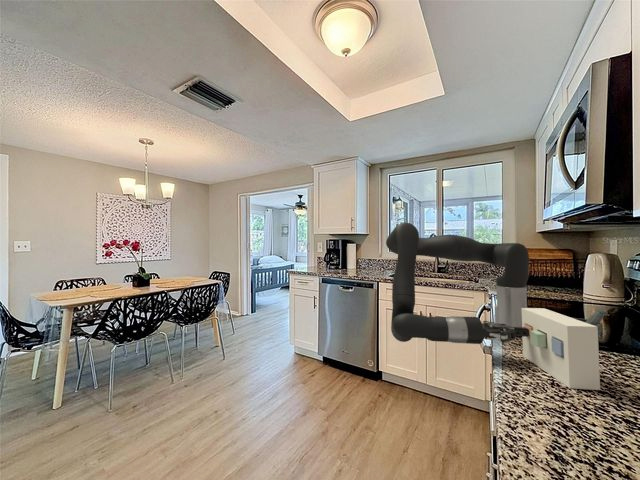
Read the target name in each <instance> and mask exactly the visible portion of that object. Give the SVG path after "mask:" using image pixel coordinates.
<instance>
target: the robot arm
mask: <svg viewBox="0 0 640 480" xmlns="http://www.w3.org/2000/svg"><path fill="white" fill-rule="evenodd" d="M385 244H386V247H387V249H388V250H389V251H390V252H392V253H394V254H396V255H397V261H396V265H395V270H394V274H393V279H392V289H391V291H392V292H391V300H392V301H391V303H392V309H391V310H392V312H391V324H390V325H391V327H390V331H391V334H392V336H393V338H395V340H396V341H399V342H401V343H405V342H409V341H411V340H412V339H413V338H415V339H416V338H417V339H426V340H427V341H431V342H440V343H441V342H443V343H451V344H452V343H453V344H466V345H467V344H468V345H469V344H472V345H473V344H474V345H481V344H483V341H484V339H485V338H487V339H488V340H492V341H493V340H494V341H495V340H500V342H501V343H507V342H510V341H514V340H516V337H522V336H524V337H528V336H529V329H527V328H525V327H522V308H528V301H527V299H528V297H527V282H528V280H529V276H530V275H529V273H530V270H529V269H530V255H529V254H530V253H529V251H528V248H527V247H526V246H525V245H524V244H521V243H520V242H519V243H518V242H504V243H503V242H502V243H489V242H488V243H487V242H480V241H478V240H475V239H473V238H472V237H467V236H463V235H458V234H457V235H456V234H441V235H435V236H430V237H429V236H428V237H420V234H419V230H418V229H417V227H416V226H415V225H413V224H412V223H409V222H401V223H399V224H397V225H396V226H395V227H394V228H393V229H392V231H391V232H390V234H388V236H387V239H386V241H385ZM417 256H422V257H428V258H429V257H430V258H437V259H445V260H450V261H456V262H479V263H480V262H481V263H485V264H490V265H492V266H493V265H494V266H497V267H500V268H504V273H503V274H502V275H501V276H499V277H497V278H496V279H495V280H496V282H495V284H496V285H495V286H496V304H495V305H494V322H493V321H487V320H483V321H481V319H480V318H479V317H478V316H462V315H461V316H460V315H459V316H457V315H456V316H455V315H454V316H453V315H451V316H426V315H422V314H417V313H415V312H414V309H415V306H416V305H415V304H416V290H415V289H416V283H415V279H416V277H415V276H416V262H417Z"/></svg>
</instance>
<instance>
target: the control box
mask: <svg viewBox="0 0 640 480" xmlns="http://www.w3.org/2000/svg"><path fill="white" fill-rule="evenodd" d="M574 318H575V317H570V316H567V315H565V314H561V313H558V312H556V311H553V310H550V309H547V308H544V307H543V308H541V307H538V308H537V307H527V308H522V327H524V325H530V326H532V327H533V331H539V332H542V333H544V334H546V347H537V346H535V345H533V344H532V343H530V339H529V338H527V337H524V336H521V338H522V356H523V357H524V358H525V359H527V360H528V361H530V362H531V363H532V364H534V365H535V366H536V367H538V368H540V369H541V370H543V371H544V372H546V373H547V374H549V376H552V377H553V379H556V380H557V381H559V382H560V383H562V385H564V386H565V387H567V388H569V389H576V390H578V389H579V390H589V391H590V390H594V391H601V382H600V379H601V378H600V377H601V376H600V374H601V373H600V357H599V356H600V354H599V353H600V352H599V337H598V327H597V326H594V325H591V324H588V323H585V322H582V321H579V320H576V319H574ZM551 338H557V339H559V340H561V341H563V344H564V356H559V355H557V354H556V353H554V352H552V343H551Z"/></svg>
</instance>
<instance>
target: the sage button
mask: <svg viewBox="0 0 640 480" xmlns="http://www.w3.org/2000/svg"><path fill="white" fill-rule="evenodd" d="M530 343H532V344H533V345H535V346H537V347H546V334H544V333H542V332H539V331H530Z"/></svg>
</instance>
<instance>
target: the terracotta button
mask: <svg viewBox="0 0 640 480" xmlns="http://www.w3.org/2000/svg"><path fill="white" fill-rule="evenodd" d="M524 327H525V328H527V329H529V336H528V337H527V338H529V339H530V331H533V327H532V326H530V325H524Z"/></svg>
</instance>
